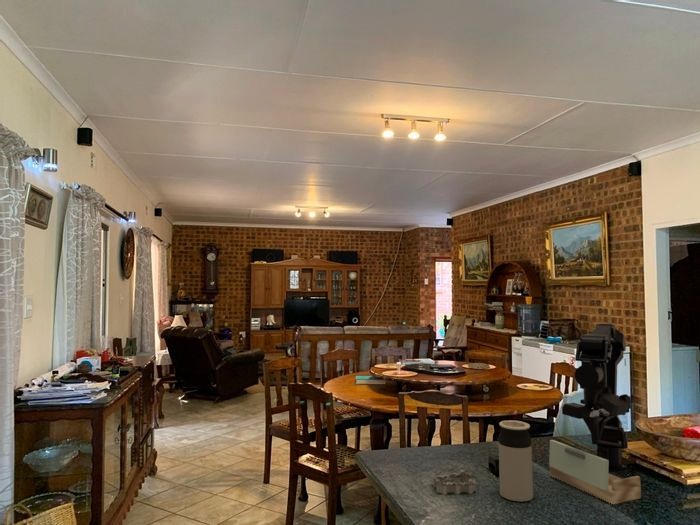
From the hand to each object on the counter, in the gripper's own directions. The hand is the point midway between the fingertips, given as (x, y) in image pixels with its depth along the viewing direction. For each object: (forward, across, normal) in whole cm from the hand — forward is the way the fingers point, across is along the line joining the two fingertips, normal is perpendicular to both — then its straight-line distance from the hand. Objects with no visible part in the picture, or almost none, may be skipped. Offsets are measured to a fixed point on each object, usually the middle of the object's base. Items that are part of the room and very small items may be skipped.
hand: (596, 440), depth 131 cm
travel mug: (+12, -25, +3) cm, 28 cm away
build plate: (+12, -18, +19) cm, 29 cm away
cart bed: (+12, -2, 0) cm, 12 cm away
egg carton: (+12, -37, +13) cm, 41 cm away
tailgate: (+9, -7, 0) cm, 11 cm away
